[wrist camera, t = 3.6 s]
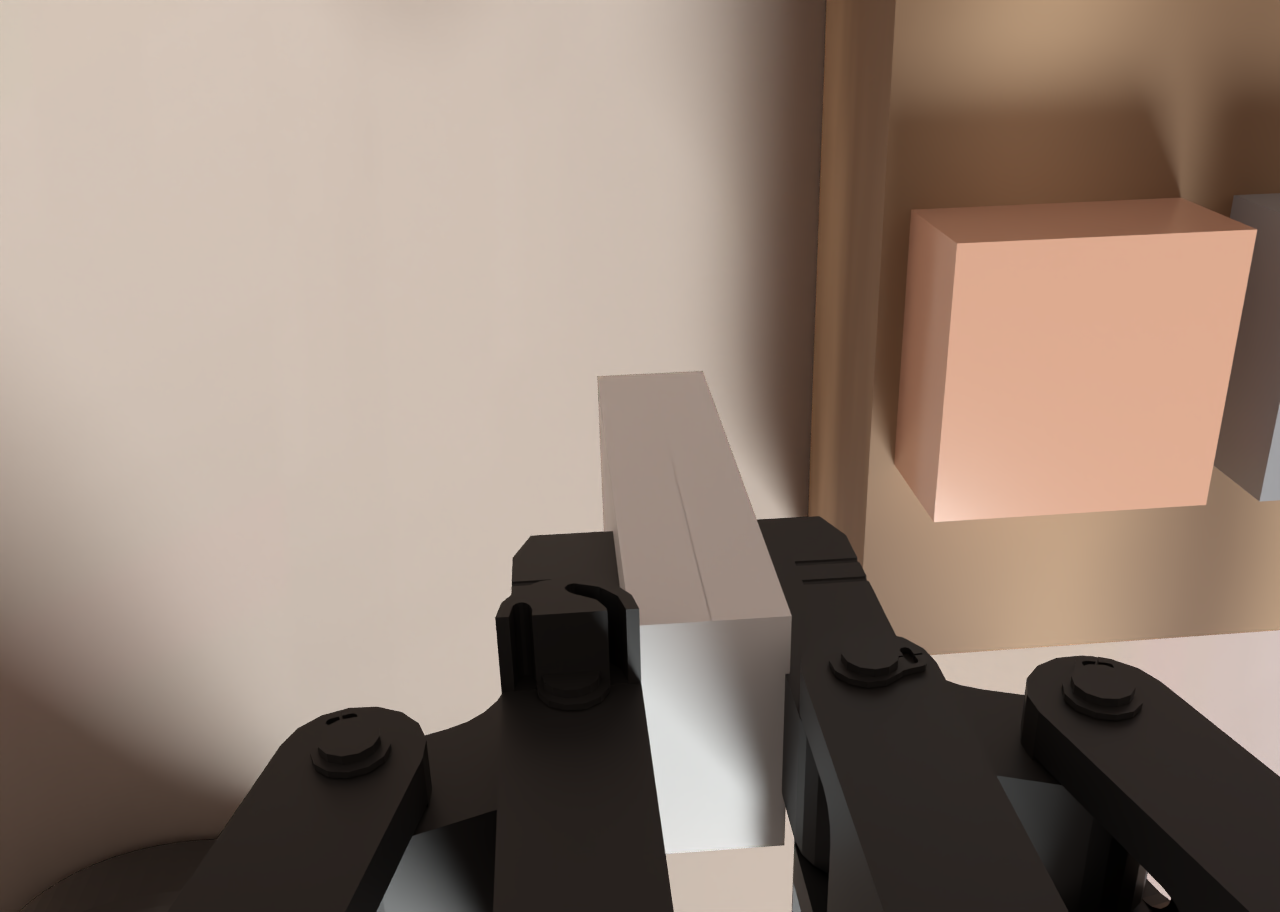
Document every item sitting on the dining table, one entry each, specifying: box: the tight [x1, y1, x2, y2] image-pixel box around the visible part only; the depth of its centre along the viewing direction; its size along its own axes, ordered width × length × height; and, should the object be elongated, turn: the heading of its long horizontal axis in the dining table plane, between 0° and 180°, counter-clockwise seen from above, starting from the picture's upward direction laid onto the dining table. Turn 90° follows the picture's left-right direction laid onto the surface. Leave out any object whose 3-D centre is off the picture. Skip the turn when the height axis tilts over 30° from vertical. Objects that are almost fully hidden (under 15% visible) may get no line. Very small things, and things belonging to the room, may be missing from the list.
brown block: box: [808, 0, 1280, 655], centre depth 25 cm, size 12×14×5 cm
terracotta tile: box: [894, 198, 1257, 522], centre depth 22 cm, size 5×5×2 cm
